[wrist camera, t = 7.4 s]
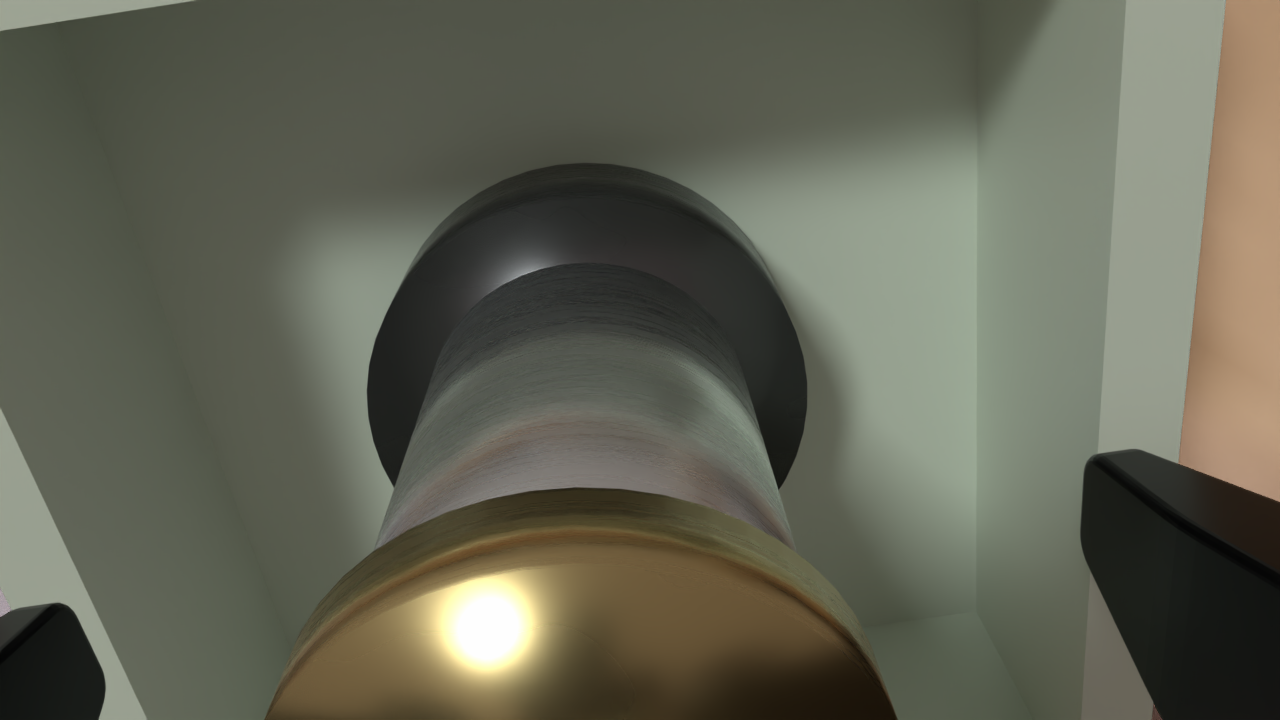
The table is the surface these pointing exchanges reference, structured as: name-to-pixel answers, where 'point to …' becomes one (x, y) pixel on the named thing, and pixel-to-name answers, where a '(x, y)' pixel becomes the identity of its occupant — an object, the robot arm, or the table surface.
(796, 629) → the brass cabinet knob
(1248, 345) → the table surface
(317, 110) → the bin
